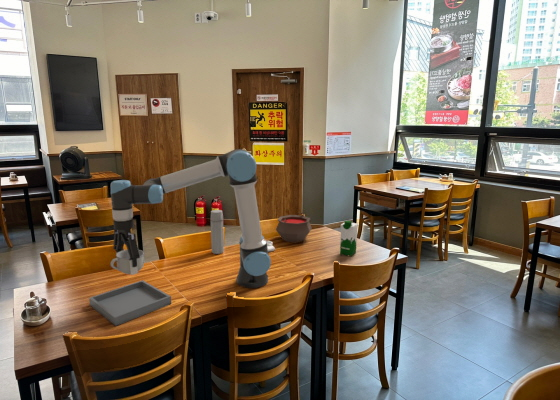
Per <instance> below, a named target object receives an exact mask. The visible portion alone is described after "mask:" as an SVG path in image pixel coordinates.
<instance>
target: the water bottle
mask: <svg viewBox="0 0 560 400" xmlns="http://www.w3.org/2000/svg"><path fill="white" fill-rule="evenodd" d="M223 214H224V213H223V210H221V209H214V210H211V211H210V241H211V243H210V244H211V253H212V254H214V255H221V254H223V253H224V251H225V249H224V248H225V247H224V215H223Z"/></svg>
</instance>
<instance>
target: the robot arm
mask: <svg viewBox="0 0 560 400" xmlns="http://www.w3.org/2000/svg"><path fill="white" fill-rule="evenodd" d="M221 176H222V177H224V178H225V177H228V181H229V186H230V187H232V188H233V190H234V196H235V201H236V202H235V203H236V208H237V213H238V218H239V220H238V221H239V226H240V231H241V236H240V238H239V242H238V243H239V270H238V272H237V273H238V274H237V276H236V284H237V285H238V286H240V287H243V288H246V289H247V288H248V289H255V288H261V287H264V286H266V285H267V284H268V283H269V275H268V273H267V272H268V271H269V270H270V267H271V265H272V259H271V257H270V254H269V252H268V248H267V242H266V241H267V240H266V239H265V237H264V235H263V234H262V227H261V221H260V214H259V207H258V201H257V195H256V194H257V193H256V187H255V185H256V183H257V182H258V179H257V178H258V177H257V162H256V158H254V155H252V154H251V153H250V152H248V151H247V150H244V149H242V148H237V149H233V150H230V151H228V152H226V153H223V154H221V155H220V154H219V155H217V156H216V158H215V159H212V160H209V161H206V162H204V163H200V164H196V165H193V166H191V167H188V168H185V169H181V170H177V171H175V172H172V173H169V174H165V175H162V176H159V177H156V178H150V179H147V180H146V181H145V182H144V183H143V184H142V185H141V184H139V185H137V184H136V185H135V184H134V185H133V184H131V181H130V180H126V179H119V180H113V181H111V183H110V200H111V208H112V209H111V213H112V219H113V220H112V221H113V234H114V235H113V245H112V246H113V250H115V252H116V254H117V253H118V252H120V251H123V250H125V248H124V245H125V246H126V250H128V253H129V255H130V259H129V260H130V272H131V274H130V275H131V276H133V275H136V274H139V271H138V267H137V258H140V255H139V251H138V250H139V248H138V247H139V246H138V243H137V240H136V239H137V237H136V233H132V229H133V228H134V226H135V221H134V218H133V217H134V213H133V212H134V209H133V205H142V204H143V205H147V204H148V205H149V204H150V205H154V204H162V203H163V202H164V195H165V194H167V193H171V192H174V191H177V190H179V189H180V190H181V189H183V188H186V187H189V186H194V185H196V184H198V183H202V182H205V181H208V180H212V179H214V178H218V177H221Z"/></svg>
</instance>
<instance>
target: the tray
mask: <svg viewBox="0 0 560 400" xmlns="http://www.w3.org/2000/svg"><path fill="white" fill-rule="evenodd" d="M88 299H89V306H90V307H91V308H92V309H93V310H95V311H96V312H97V313H99V314H100V315H101V316H103V317H104V318H105V319H106V320H108V321H109V322H110V323H111V324H112V325H113V326H115V327H117V326H120V325H122V324H124V323H127V322H130V321H132V320H134V319H137V318H140V317H142V316H145V315H147V314H150V313H153V312H154V311H157V310H160V309H161V308H165V307H167V306H170V305H172V296H171V295H169V294H167V292H164V291H163V290H160V289H159V288H157V287H155V286H153V285H152V284H150V283H148V282H146V281H145V280H143V279H142V280H139V281H136V282H133V283H130V284H126V285H124V286H120V287H118V288H115V289H112V290H111V289H110V290H109V291H105V292H102V293H100V294H97V295H93V296H90V297H89V298H88Z"/></svg>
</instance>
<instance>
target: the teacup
mask: <svg viewBox="0 0 560 400" xmlns="http://www.w3.org/2000/svg"><path fill="white" fill-rule="evenodd" d="M138 251H139V255H140V258H137V267H138V272H139V271H141V269H143V267H144V263H145V257H144V256H145V255H144V254H145V253H144V251H143V250H141V249H138ZM115 256H116V258H112V260H111V261H110V267H111V268H112V269H114V270H117V271H118V272H121V273H123V274H125V275H131V272H130V260H129V259H130V255H129V253H128V250H127V249H124V250H122V251H120V252H118V253H117V252H116V254H115ZM115 262H116V265H115Z"/></svg>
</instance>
